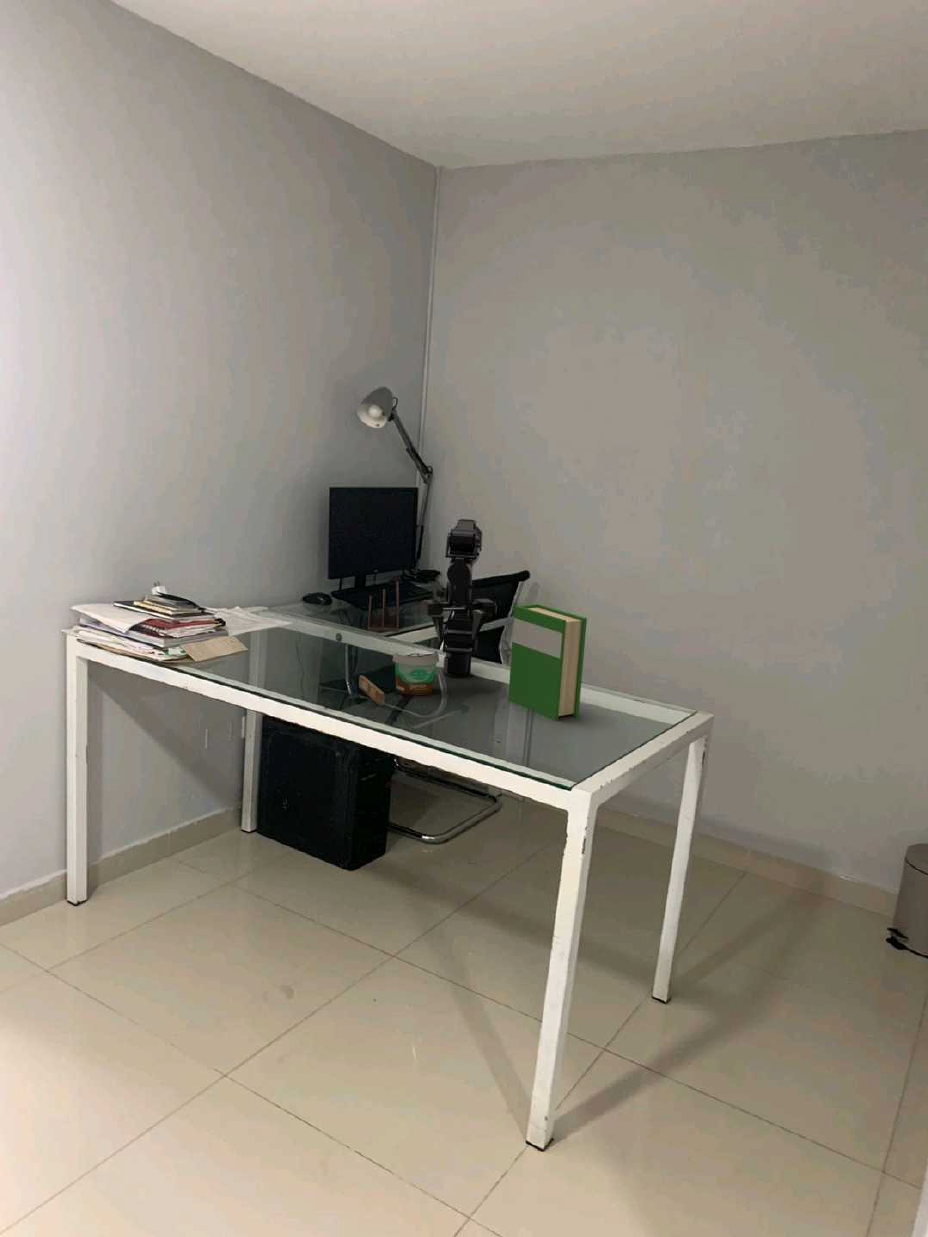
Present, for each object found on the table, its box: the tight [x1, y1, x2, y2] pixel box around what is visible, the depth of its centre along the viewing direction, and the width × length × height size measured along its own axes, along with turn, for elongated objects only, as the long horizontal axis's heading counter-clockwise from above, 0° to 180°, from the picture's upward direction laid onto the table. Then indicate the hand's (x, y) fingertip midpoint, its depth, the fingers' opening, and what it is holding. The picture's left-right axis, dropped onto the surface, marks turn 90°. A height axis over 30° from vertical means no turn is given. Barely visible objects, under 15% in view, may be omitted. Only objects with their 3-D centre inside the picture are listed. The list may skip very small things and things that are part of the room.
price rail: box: [358, 675, 386, 707], centre depth 227 cm, size 1×16×3 cm, turn 25°
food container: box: [391, 649, 440, 696], centre depth 232 cm, size 12×6×10 cm, turn 117°
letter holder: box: [367, 581, 400, 633], centre depth 306 cm, size 10×20×14 cm, turn 5°
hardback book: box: [507, 603, 588, 722], centre depth 224 cm, size 18×7×24 cm, turn 36°
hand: (456, 640), depth 235 cm, fingers open, 9 cm apart
